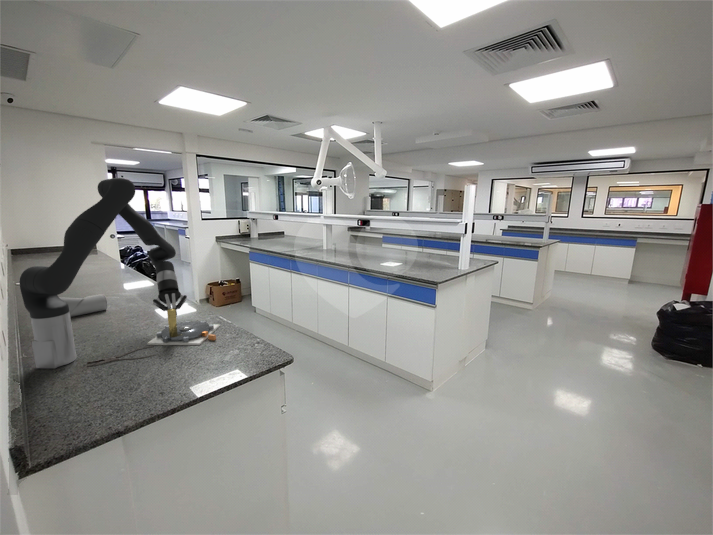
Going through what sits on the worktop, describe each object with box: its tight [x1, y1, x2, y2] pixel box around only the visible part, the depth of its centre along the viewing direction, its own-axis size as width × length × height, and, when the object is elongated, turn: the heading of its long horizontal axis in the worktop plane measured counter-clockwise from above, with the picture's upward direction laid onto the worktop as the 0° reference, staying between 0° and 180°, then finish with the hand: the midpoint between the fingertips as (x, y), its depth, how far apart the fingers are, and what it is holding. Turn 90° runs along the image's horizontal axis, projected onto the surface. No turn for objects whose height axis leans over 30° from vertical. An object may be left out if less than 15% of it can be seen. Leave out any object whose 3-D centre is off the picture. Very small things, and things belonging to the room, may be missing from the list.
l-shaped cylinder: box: [58, 293, 108, 318], centre depth 150 cm, size 18×10×20 cm
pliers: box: [86, 345, 157, 368], centre depth 108 cm, size 10×1×20 cm
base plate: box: [147, 323, 221, 346], centre depth 129 cm, size 20×24×2 cm
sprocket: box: [156, 308, 214, 342], centre depth 128 cm, size 21×21×12 cm
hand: (173, 317), depth 126 cm, fingers closed
